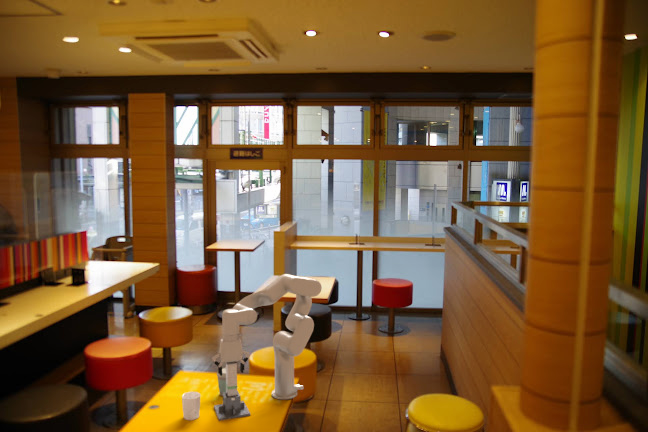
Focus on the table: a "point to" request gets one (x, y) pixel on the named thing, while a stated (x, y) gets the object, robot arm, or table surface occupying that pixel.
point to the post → (231, 379)
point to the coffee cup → (222, 381)
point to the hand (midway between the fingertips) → (231, 373)
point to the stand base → (231, 408)
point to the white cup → (191, 405)
